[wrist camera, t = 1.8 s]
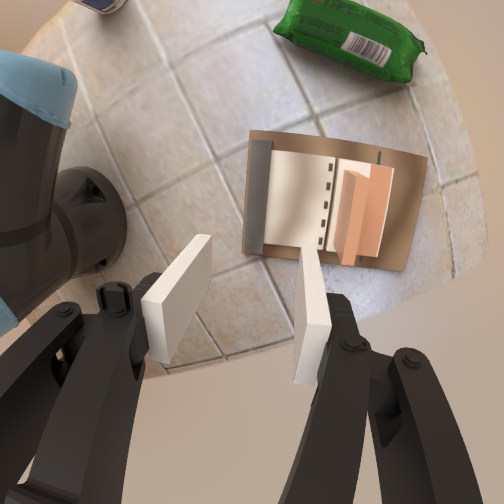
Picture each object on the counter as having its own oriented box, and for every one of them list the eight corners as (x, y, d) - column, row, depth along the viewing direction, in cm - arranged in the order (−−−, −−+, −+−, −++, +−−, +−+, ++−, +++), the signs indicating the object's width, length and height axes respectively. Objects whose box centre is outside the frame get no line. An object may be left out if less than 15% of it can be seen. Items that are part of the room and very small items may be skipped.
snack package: (402, 97, 26) (420, 92, 21) (271, 42, 26) (268, 26, 21) (417, 50, 23) (436, 38, 19) (291, -4, 23) (291, -25, 18)
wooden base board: (242, 250, 35) (238, 260, 32) (251, 129, 30) (247, 129, 27) (401, 267, 33) (409, 278, 31) (424, 156, 28) (435, 159, 25)
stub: (325, 246, 32) (332, 273, 26) (337, 157, 29) (350, 163, 22) (374, 252, 32) (391, 279, 26) (390, 167, 28) (414, 175, 22)
